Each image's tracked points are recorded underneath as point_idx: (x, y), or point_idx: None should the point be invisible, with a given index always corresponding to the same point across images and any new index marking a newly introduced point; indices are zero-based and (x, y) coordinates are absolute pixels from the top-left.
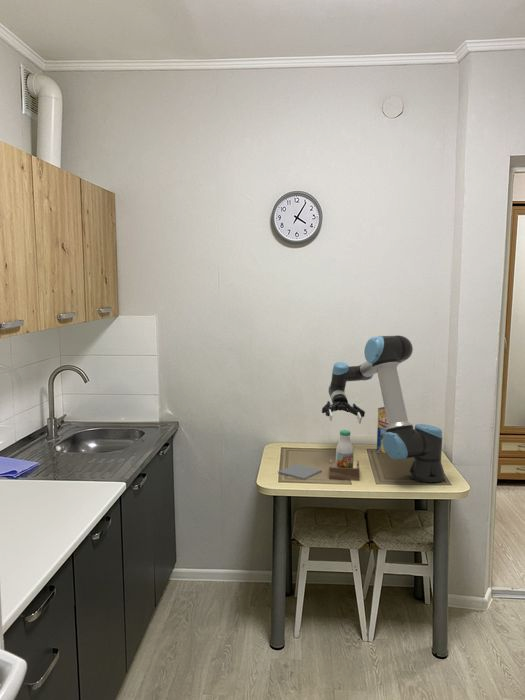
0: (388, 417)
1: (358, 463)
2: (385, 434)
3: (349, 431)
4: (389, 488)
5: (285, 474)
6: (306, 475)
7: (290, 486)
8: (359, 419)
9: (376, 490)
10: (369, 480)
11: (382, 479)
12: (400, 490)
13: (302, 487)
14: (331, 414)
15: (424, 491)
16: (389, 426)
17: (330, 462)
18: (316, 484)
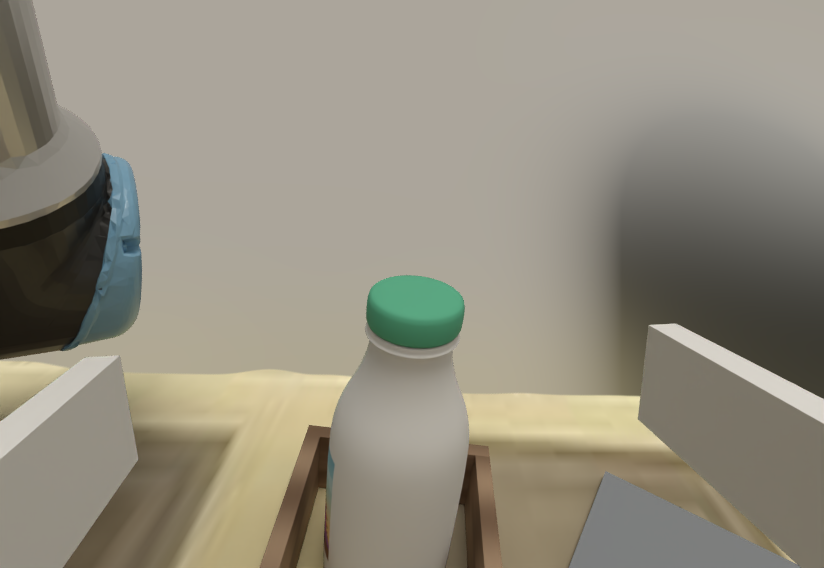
0: (46, 66)
1: (280, 523)
2: (136, 190)
3: (378, 286)
4: (195, 392)
5: (741, 543)
6: (609, 507)
7: (627, 413)
8: (111, 414)
9: (266, 377)
10: (247, 477)
11: (157, 492)
12: (157, 375)
13: (575, 405)
14: (688, 340)
15: (51, 366)
16: (83, 133)
17: (493, 540)
18: (526, 430)
